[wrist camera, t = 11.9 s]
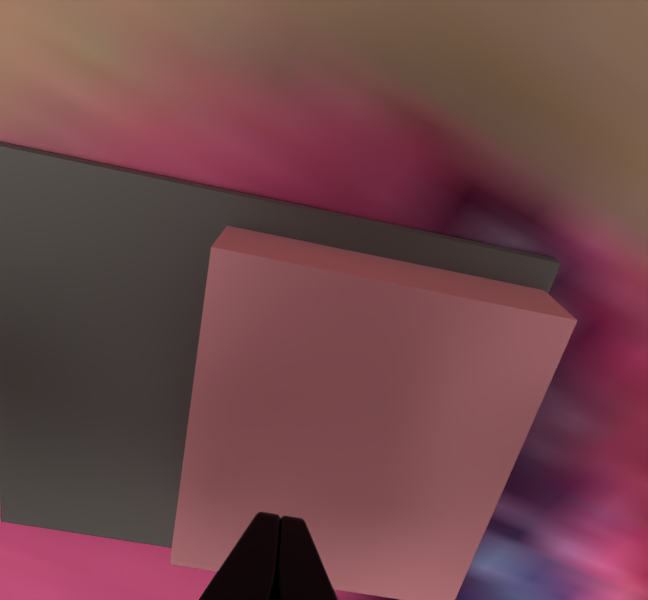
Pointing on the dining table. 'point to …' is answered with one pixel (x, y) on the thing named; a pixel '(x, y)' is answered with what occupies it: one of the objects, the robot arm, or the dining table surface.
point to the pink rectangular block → (359, 408)
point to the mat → (138, 327)
